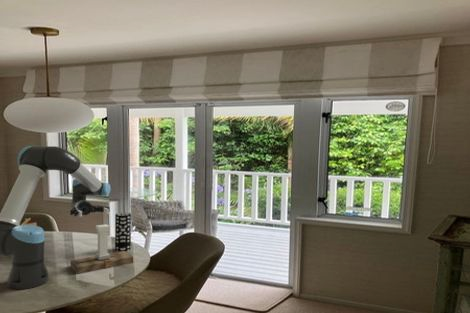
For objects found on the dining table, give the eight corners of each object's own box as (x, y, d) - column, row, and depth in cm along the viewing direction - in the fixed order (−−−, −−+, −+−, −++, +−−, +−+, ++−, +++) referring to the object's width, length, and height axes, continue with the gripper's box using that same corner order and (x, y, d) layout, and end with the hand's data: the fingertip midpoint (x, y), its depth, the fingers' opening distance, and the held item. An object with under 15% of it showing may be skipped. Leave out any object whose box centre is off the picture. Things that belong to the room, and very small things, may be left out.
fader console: (77, 274, 156) (77, 266, 156) (70, 266, 166) (70, 259, 166) (133, 262, 172) (133, 256, 172) (123, 256, 182) (124, 250, 182)
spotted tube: (111, 250, 192) (112, 214, 192) (123, 246, 200) (123, 212, 199) (122, 252, 188) (123, 216, 188) (133, 249, 196) (134, 213, 195)
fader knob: (99, 260, 165) (99, 227, 165) (95, 256, 170) (95, 225, 170) (109, 258, 168) (110, 226, 168) (105, 255, 173) (105, 224, 173)
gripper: (105, 212, 205) (118, 217, 188) (59, 216, 189) (69, 222, 173) (106, 199, 205) (118, 204, 188) (59, 202, 189) (69, 207, 173)
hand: (95, 213), depth 180 cm, fingers open, 13 cm apart
